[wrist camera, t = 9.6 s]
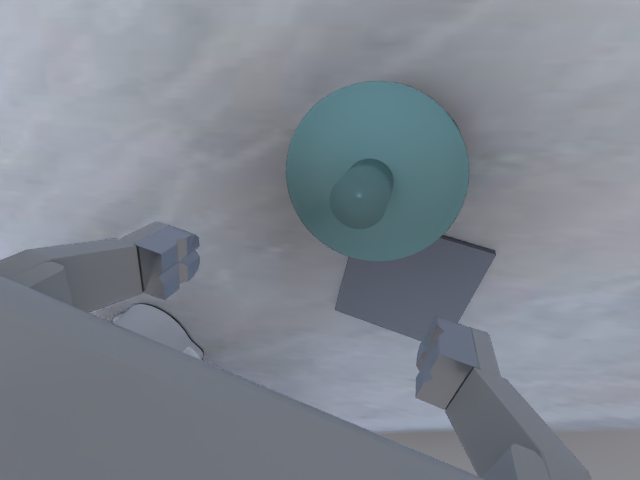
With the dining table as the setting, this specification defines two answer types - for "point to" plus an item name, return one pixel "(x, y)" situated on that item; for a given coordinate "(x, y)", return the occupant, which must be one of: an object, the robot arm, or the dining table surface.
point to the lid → (377, 171)
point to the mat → (414, 286)
